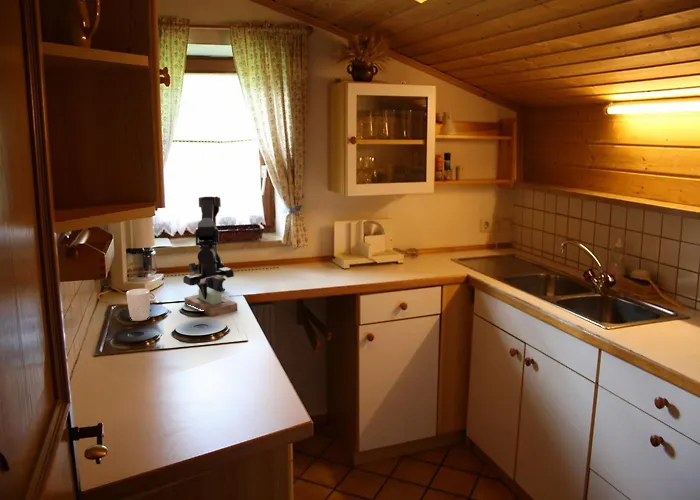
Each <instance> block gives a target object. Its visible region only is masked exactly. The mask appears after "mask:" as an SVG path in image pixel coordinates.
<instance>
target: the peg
mask: <svg viewBox="0 0 700 500" xmlns="http://www.w3.org/2000/svg"><path fill="white" fill-rule="evenodd" d="M198 294H199V299H200V300H202V301H204V302H207V303H209V304H211V305H215V304H219V303H222V297H223V296H222V292H221V291H216V290H214V289H211V288H209V287H207V298H206V299H204V297H203V295H202V293H201V291H200V289H199V288H198Z"/></svg>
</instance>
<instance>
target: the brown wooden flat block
mask: <svg viewBox="0 0 700 500" xmlns="http://www.w3.org/2000/svg"><path fill="white" fill-rule="evenodd" d="M185 304H188V305H191V306H194V307H196V308H198V309H201V310H204V311H205V314H204V315H207V316H209V317H211V318H213V317H216V316H217V317H218V316H221V315H225V314H229V313H233V312H236V311H238V303H237V302H235V301H233V300H230V299H228V298H225V297H223V296H222V303H219V304H215V305H211V304H209V303H207V302H204V301H202V300H200V299H199V293H198V294H194V295H190V296H189V295H188V296H186V297H184V305H185Z"/></svg>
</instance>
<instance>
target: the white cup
mask: <svg viewBox="0 0 700 500" xmlns="http://www.w3.org/2000/svg"><path fill="white" fill-rule="evenodd" d="M125 294H126V301H127V307H128V313H129V318H130V317H131V319H132V320H131V319H130V320H131V321H132V322H133V321H135V322H142V321H146V320H148V319H149V318H150V317H151V313H150V312H151V311H150V310H151V308H150V307H151V300H150V299H151V298H150V297H151V295H150V290H149V289H148V288H134V289H130V290H128V291H126V293H125ZM149 316H150V317H149ZM148 317H149V318H148ZM147 318H148V319H147Z"/></svg>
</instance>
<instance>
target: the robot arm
mask: <svg viewBox="0 0 700 500" xmlns="http://www.w3.org/2000/svg"><path fill="white" fill-rule="evenodd" d="M221 206H222V203H221V197H220V196H219V197H218V195H202V196H200V197H198V207H199V208H200V211H201V220H200V221H198V223H197V228H195V246H199V251H198V253H197V260H198V264H196V263H195V262H192V263H189V264H188V271H189V273H191V274H186V275H184V276H183V279H182V280H183V284H186V285H188V286H196V285H197V287H198V290H199V289H200V291H201V293H202V295H203V297H204V299H206V298H207V287H209V288H211V289H214V290H216V291H219V292H221V291H225V290H226V289H225V288H224V285H223V283H225V281H226V280H227V279H226V278H228V279H229V278H233V277H235V272H234V270H233V268H230V267H226V265H225V264H224V262H222V257H221V256H220V253H218V243H220V240H219V239H220V230H219V229H218V227H217V215H218V213H219V212H220V208H221ZM197 274H198V275H197Z"/></svg>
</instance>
